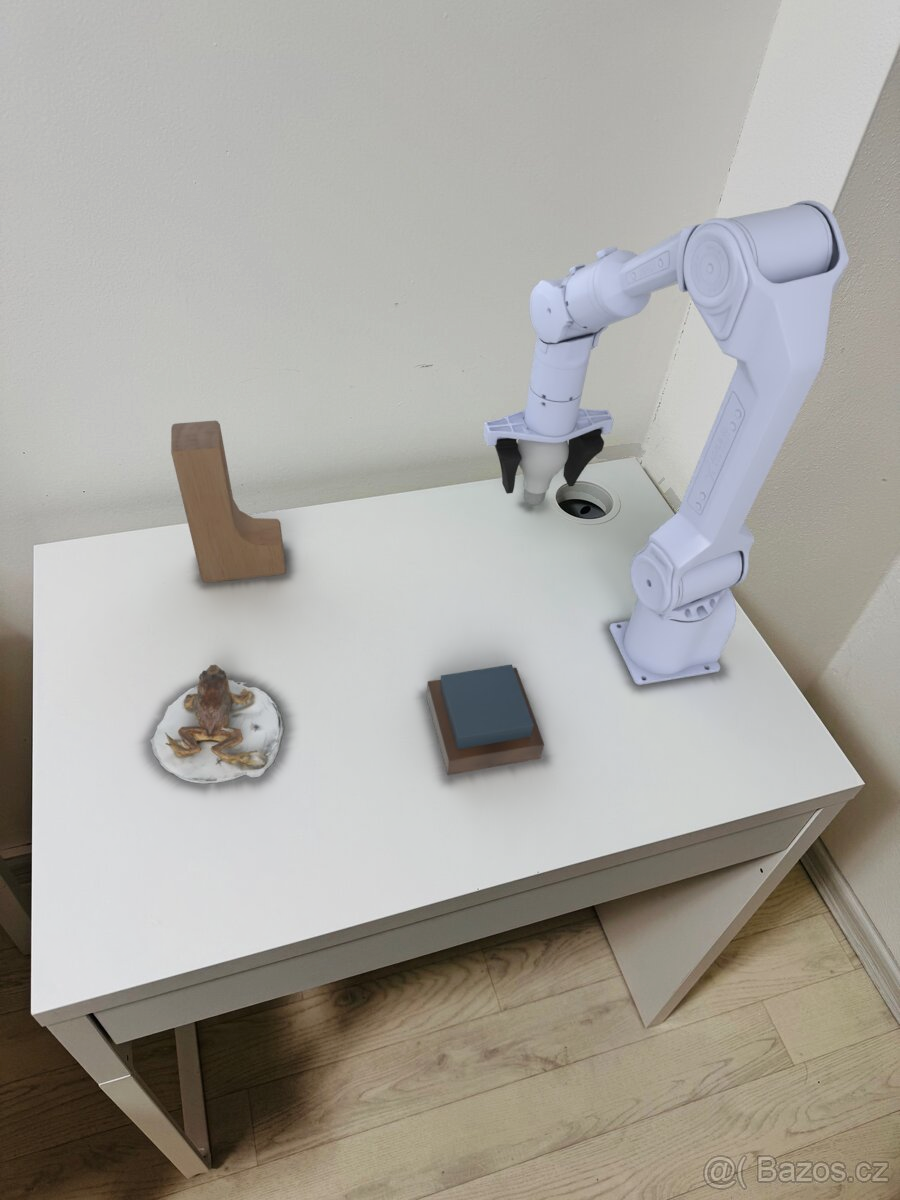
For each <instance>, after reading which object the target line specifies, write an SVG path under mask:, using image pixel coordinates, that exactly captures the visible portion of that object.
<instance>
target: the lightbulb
mask: <svg viewBox="0 0 900 1200" xmlns="http://www.w3.org/2000/svg"><path fill="white" fill-rule="evenodd" d="M516 442H517V444H518V450H519V452H520V454H521V457H522V459H521V461H520V463H519V466H518V467H519V468H520V470H521V471H522V477H523V479H522V485H523V488H524V489H523V500H524V501H525V503H526V504H529V505H531V506H539V505H541V504H542V503H543V502H544V500H545V497H546V494H547V491H548V490H549V488H550V485H551V482H552V480H553V478H554V477H555V476H556V475H557V474H558V473H559V472H560V471H561V470H562V469H564V465H565V463H566V461H567V459H568V455H569V446H568V444H569V441H568V440H567V441H564V442H560V443H545V442H537V441H529V440H520V439H517V441H516Z"/></svg>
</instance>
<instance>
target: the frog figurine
mask: <svg viewBox="0 0 900 1200" xmlns="http://www.w3.org/2000/svg"><path fill="white" fill-rule="evenodd" d="M198 678H199V679H198V683H197V685H195V686H194V687H191V688H189V689H187V691H185V692H184V693H183V694H181V695H179V697H177V699H176V700H175V701H173V702H172V703H171V704H170V705H168V706H167V708H166V711H165V713H164V715H163V718H162V719H161V721H160V722H159V724H158V725H157V726H156V731H154V735H153V737H152V738H150V740H149V741H150V744H151V749H152V753H153V756H155V758H156V759H157V760H158V762H159V764H160V766H161V767H163V768H164V769H165V771H167V772H168V773H170V774H173V775H174V776H176V777H177V778H179V779H181V780H183V781H185V782H191V783H196V784H203V785H204V784H211V783H213V784H215V783H222V782H228V781H232V780H235V779H238V778H240V777H242V776H243V777H244V776H247V777H249V778H259V777H261V776H262V775H263V774H264V773H265V772H266V770H267V769H268V768H269V767H271V765H272V764H273V763H274V761H275V759H276V758H277V755H278V753H279V750H280V745H281V741H282V737H283V732H284V728H283V721H282V720H283V719H282V713H280V711H279V710H278V705H277V704H276V703H275V701H274V700H273V699H272V698H271V697H270V696H269V695H268V694H267V693H266V692H265V691H263V690H261V689H260V688H258V687H256V686H253V687H248V686H246V685H245V684H247V685H248V683H247V682H242V681H235V680H233V679H229V678H228V676H227V672H226V671H225V670H223V669H222V668H221V667H220V666H218V665H217V664H210V665H209V667H207V669H206V670H203V671H202V672H201V673H200V674H199V676H198ZM238 683H240V684H238Z"/></svg>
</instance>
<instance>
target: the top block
mask: <svg viewBox="0 0 900 1200" xmlns="http://www.w3.org/2000/svg"><path fill="white" fill-rule="evenodd" d="M513 668H514V666H513V664H506V665H500V666H493V667H485V668H480V669H473V670H468V671H460V672H455V673H448V674H442V675H440V679H441V680H440V679H439V680H440V690H441V694H442V697H443V701H444V705H445V708H446V712H447V715H448V719H449V722H450V726H451V729H452V733H453V736H454V740H455V744H456V747H457V750H458V749H464V748H470V747H475V746H481V745H487V744H492V743H498V742H503V741H509V740H515V739H520V738H526V737H531V733H532V729H533V722H532V719H531V716H530V713H529V711H528V708H527V705H526V702H525V699H524V697H523V694H522V691H521V688H520V686H519V683H518V680H517V677H516V674H515V672H514V669H513Z"/></svg>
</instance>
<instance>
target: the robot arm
mask: <svg viewBox="0 0 900 1200" xmlns="http://www.w3.org/2000/svg"><path fill="white" fill-rule="evenodd" d="M595 256H596V260H595V261H593V262H591V263H589V264H587V265H586V264H585V263H582V264H577V265H574V266H572V267H570V269H569V274H568V275H567V276H566V277H561V278H557V279H542V280H540V281H539V282H538V284H537V285H535V286H534V287H533V289H532V291H531V293H530V295H529V296H530V297H529V305H528V307H529V308H528V309H529V318H530V322H531V325H532V328H533V330H534V332H535V334H536V339H535V343H534V344H535V346H534V350H533V358H532V365H531V370H530V377H529V384H528V390H527V391H528V392H527V397H526V402H525V408H524V409H522V410H520V411H517V412H514V413H512V414H511V413H510V414H509V415H506V416H503V417H501V418H497V419H493V420H487V421H484V423H483V434H482V436H483V440H484V441H485V444H486V446H487V447H493V446H494V449H495V451H496V454H497V457H498V460H499V465H500V470H501V483H502V486H503V488H504V491H505V493H506V494H507V495H508V494H513V493H514V490H515V484H516V475H517V472H518V468H519V467H520V466H519V463H520V461H521V459H522V457H521V454H520V452H519V450H518V444H517V442H518V439H520V440H529V441H537V442H545V443H560V442H564V441H567V442H568V446H569V455H568V459H567V461H566V463H565V465H564V467H563V473H562V475H563V478H564V480H565V482H566V484H567V486H568V487H574V486H575V484H576V483H577V482H578V480H579V478H580V476H581V474H582V473H583V471H584V470H585V468H586V467H587V466H588V465H589V463H590V462H591V461H592V460H593V459H594V458H595V457H596V456H597V455H599V454H600V453H601V452H602V451H603V449H604V446H605V439H603V437H602V435H609V434H611V433H612V429H613V425H614V421H615V420H614V418H613V416H612V414H611V413H610V411H609V409H589V408H581V407H580V404H581V400H582V397H583V391H584V387H585V381H586V376H587V373H588V369H589V368H588V367H589V363H590V357H591V353H592V350H594V349H595V348H596V347H598V344H599V340H600V336H601V335H602V333H603V332H605V331H606V330H607V329H608V328H609V326H610V325H613V324H615V323H617V322H622V321H623V320H626V319H630V318H632V317H634V316H637V315H638V314H640V313H641V312H642V311H643V310H644V309H646V307H647V306H648V304H649V301H650V299H651V297H652V293H655V292H659V291H662V290H664V289H668V288H669V287H672V286H675V285H678V289H679V291H680V292H682V293H687V292H688V294H689V297H690V299H691V301H692V303H693V304H694V306H695V308H696V309H697V311H698V313H699V314H700V316H701V319H703V321H704V323H705V325H706V326H707V329H708V330H709V331H710V333H711V335H712V336H713V338H714V340H715V342H716V343H717V345H718V347H719V349H720V350H721V352H722V353H723V354H724V355H726V356H728V357H730V358H733V359H735V360H736V363H737V365H736V368H735V370H734V373H733V374H732V378H731V380H730V382H729V385H728V387H727V390H726V392H725V395H724V397H723V400H722V402H721V404H720V407H719V410H718V412H717V415H716V417H715V420H714V422H713V424H712V427H711V429H710V431H709V434H708V436H707V439H706V441H705V444H704V447H703V449H702V452H701V454H700V456H699V458H698V461H697V464H696V465H695V468H694V470H693V474H692V475H691V478H690V481H689V483H688V486H687V488H686V490H685V493H684V496H683V497H682V501H681V502H680V506H679V508H678V510H677V512H676V513H675V514H674V515H673V516H671V518H669V519H668V520H667V521H665V522H664V523H663V524H662V525H660V526H659V527H658V528H657V529H656V530H655V531H653V532H652V533H651V534H650V535H649V537H648V539H647V542H646V544H645V545H644V547H643V548H641V549H640V550H638V551H636V553H635V554H634V555H633V557H632V558H631V563H630V569H629V570H630V571H629V576H630V577H629V578H630V583H631V587H632V589H633V592H634V593H635V596H636V597H637V598H636V600H635V604H634V607H633V610H632V613H631V616H630V619H629V620H625V621H619V622H618V621H617V622H612V623H610V624H609V627H608V629H609V631H610V633H611V635H612V639H613V640H614V642H615V644H616V646H617V648H618V651H619V652H620V655H621V657H622V660H623V661H624V663H625V666H626V667H627V670H628V672H629V674H630V676H631V678H632V680H633V682H634V684H636V685H638V686H643V685H648V684H654V683H655V684H656V683H660V682H665V681H673V680H678V679H684V678H689V677H695V676H702V675H707V674H713V673H718V672H720V670H721V665H720V663H719V660H720V657H721V656H722V653H723V651H724V648H725V647H726V644H727V643H728V641H729V638H730V636H731V634H732V633H733V630H734V628H735V626H736V622H737V621H736V620H737V605H736V600H735V597H734V595H733V592H732V590H731V587H732V588H733V587H736V586H739V585H740V584H741V583H743V582H744V581H745V579H746V578H747V575H748V573H749V567H750V565H749V563H750V553H751V552H750V551H751V549H752V547H753V545H754V543H755V541H756V540H755V539H756V538H755V537H754V535H753V533H752V532H751V530H750V528H749V527H748V525H747V524H746V523H745V521H746V519H747V517H748V514H749V513H750V511H751V509H752V507H753V505H754V503H755V500H756V499H757V496H758V494H759V493H760V490H761V489H762V487H763V485H764V483H765V480H766V479H767V477H768V476H769V475H768V474H769V473H770V470H771V469H772V466H773V464H774V463H775V460H776V458H777V456H778V455H779V453H780V451H781V449H782V446H783V444H784V442H785V441H786V439H787V436H788V435H789V432H790V431H791V428H792V426H793V424H794V422H795V420H796V418H797V416H798V415H799V413H800V411H801V408H802V407H803V404H804V402H805V400H806V398H807V397H808V394H809V392H810V391H811V388H812V387H813V384H814V382H815V380H816V378H817V377H818V374H819V372H820V369H821V368H822V365H823V362H824V359H825V354H826V347H827V338H828V331H829V330H828V329H829V322H830V315H831V314H830V313H831V305H832V298H833V296H834V294H835V293H836V290H837V288H838V286H839V283H840V281H841V280H842V278H843V275H844V274H845V271H846V269H847V267H848V265H849V262H850V257H849V254H848V251H847V248H846V245H845V242H844V238H843V235H842V232H841V228H840V226H839V223H838V221H837V218H836V216H835V215H834V213H832V211H831V210H830V208H828V207H827V206H826V205H824V204H823V203H821V202H819V201H816V200H801V201H797V202H795V203H793V204H790V205H788V206H785V207H784V206H783V207H778V208H774V209H768V210H763V211H759V212H754V213H749V214H748V213H747V214H743V215H737V216H733V217H728V218H726V217H715V218H710V219H707V220H705V221H703V222H702V223H700V224H694V225H689V226H685V227H683V228H682V229H680V230H679V231H678V232H675V233H674V234H673V235H671V236H669V237H667V238H665V239H664V240H662V241H660V242H658V243H657V244H655V245H653V246H652V247H650V248H648V249H646V250H644V251H643V252H641V253H640V254H637V253H635V252H633V251H631V250H627V249H619V250H618V247H617V246H610V247H606V248H602V249H600V250H599V251H597V252H596V254H595Z"/></svg>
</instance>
